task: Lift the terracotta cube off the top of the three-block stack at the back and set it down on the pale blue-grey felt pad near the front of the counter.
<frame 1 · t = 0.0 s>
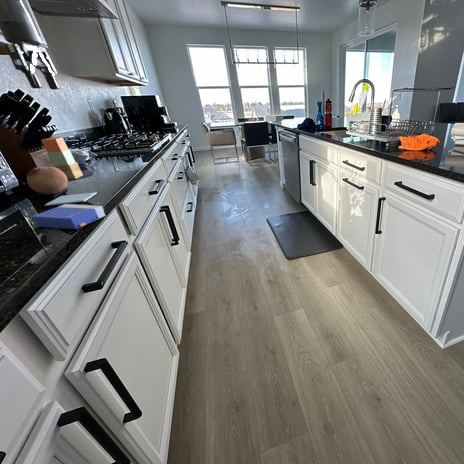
hand: (46, 88, 78), 31 cm above the countertop, tool pointing down, fingers open, 8 cm apart
top cube: (58, 151, 97), point 11 cm above the countertop, touching middle block
onion: (55, 193, 84), on the countertop
bottom block: (71, 177, 102), on the countertop, touching middle block
middle block: (64, 164, 99), point 6 cm above the countertop, touching bottom block, top cube
pad: (72, 199, 78), on the countertop
walkman: (51, 214, 63), point 1 cm above the countertop
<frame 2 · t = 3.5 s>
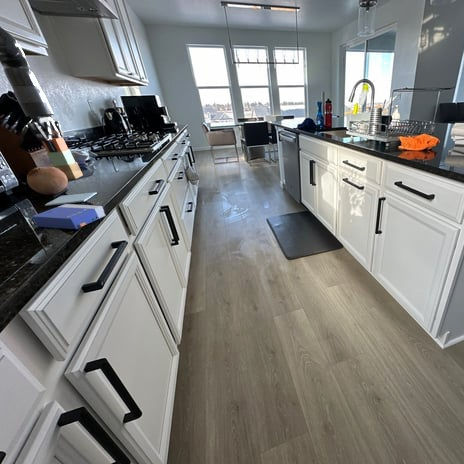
hand: (58, 150, 97), 11 cm above the countertop, tool pointing down, fingers closed on top cube, 4 cm apart
top cube: (58, 151, 97), point 11 cm above the countertop, touching gripper, middle block
everything else where it was.
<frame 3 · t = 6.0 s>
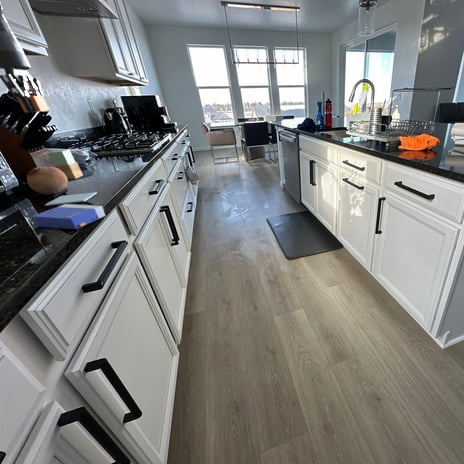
hand: (37, 111, 86), 25 cm above the countertop, tool pointing down, fingers closed on top cube, 4 cm apart
top cube: (37, 111, 86), point 24 cm above the countertop, touching gripper
middle block: (64, 164, 99), point 6 cm above the countertop, touching bottom block
everything else where it was.
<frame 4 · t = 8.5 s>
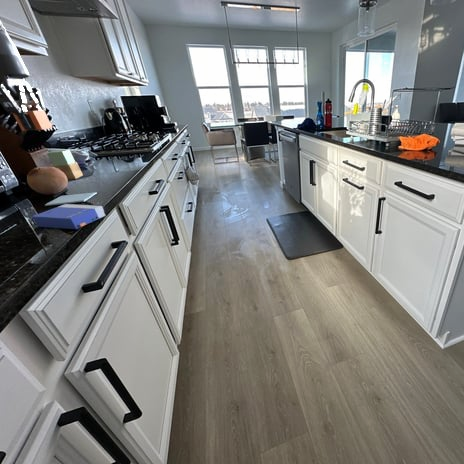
hand: (37, 128, 69), 20 cm above the countertop, tool pointing down, fingers closed on top cube, 4 cm apart
top cube: (38, 129, 69), point 20 cm above the countertop, touching gripper
everything else where it was.
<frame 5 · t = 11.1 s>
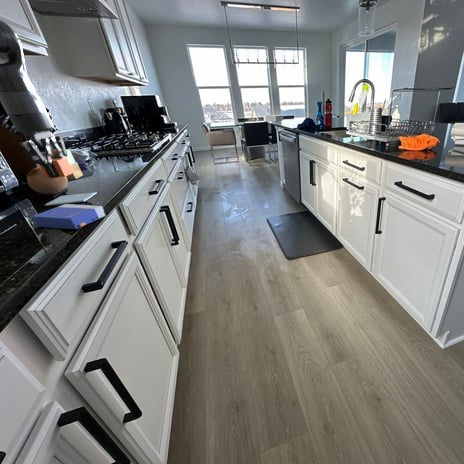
hand: (60, 175, 74), 8 cm above the countertop, tool pointing down, fingers closed on top cube, 4 cm apart
top cube: (60, 175, 74), point 7 cm above the countertop, touching gripper
everything else where it was.
when the fingers open (1 cm above the countertop, at t = 13.3 s): top cube stays where it is, resting on pad.
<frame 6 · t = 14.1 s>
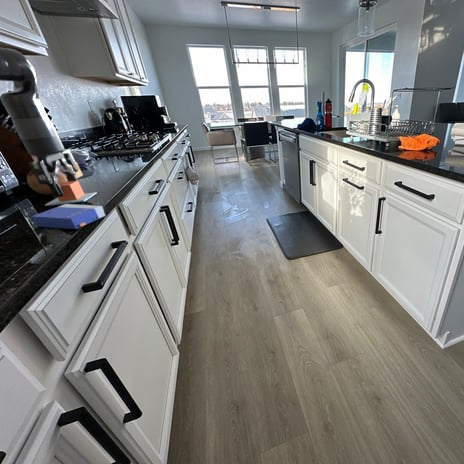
hand: (68, 191, 77), 2 cm above the countertop, tool pointing down, fingers open, 8 cm apart
top cube: (72, 197, 78), resting on pad
everything else where it was.
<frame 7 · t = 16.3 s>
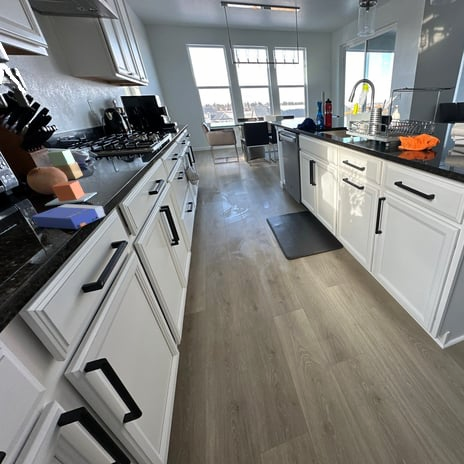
hand: (14, 107, 75), 26 cm above the countertop, tool pointing down, fingers open, 8 cm apart
nothing on the countertop moved.
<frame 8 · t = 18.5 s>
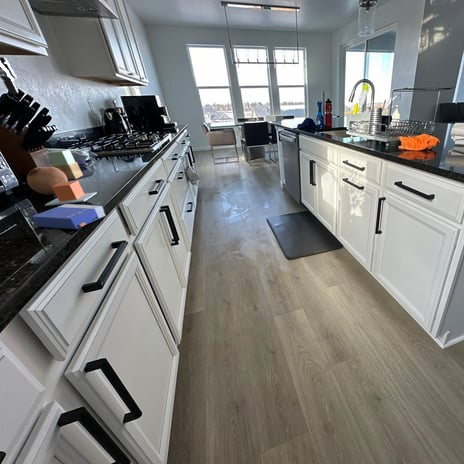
hand: (4, 93, 81), 30 cm above the countertop, tool pointing down, fingers open, 8 cm apart
nothing on the countertop moved.
at the end: top cube inside the target area on the pad (0.1 cm from its centre), point 0.4 cm above the pad's base; top cube tilted 0°; middle block touching bottom block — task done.
